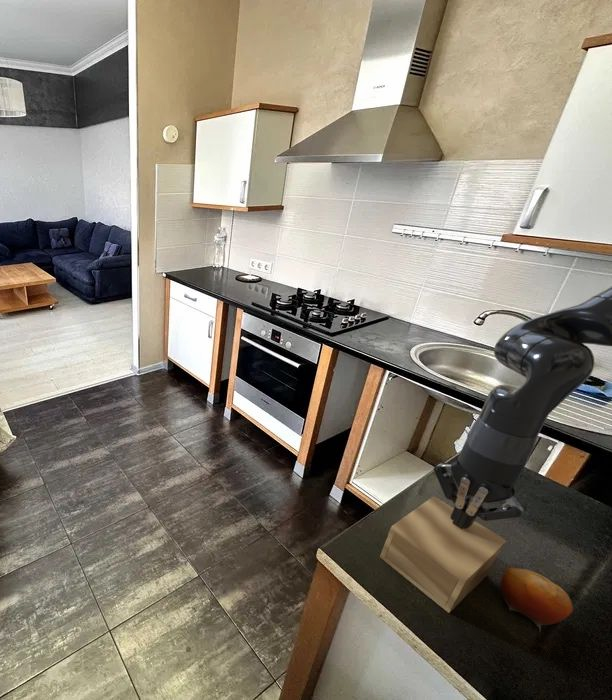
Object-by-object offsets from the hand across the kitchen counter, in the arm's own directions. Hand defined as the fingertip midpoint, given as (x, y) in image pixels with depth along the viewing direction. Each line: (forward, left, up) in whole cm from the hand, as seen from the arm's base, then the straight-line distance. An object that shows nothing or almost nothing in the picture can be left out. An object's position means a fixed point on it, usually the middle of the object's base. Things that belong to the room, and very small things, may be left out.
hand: (459, 524), depth 68 cm
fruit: (-9, +8, -8) cm, 14 cm away
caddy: (+3, +3, -8) cm, 9 cm away
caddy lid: (+3, +2, -1) cm, 4 cm away
